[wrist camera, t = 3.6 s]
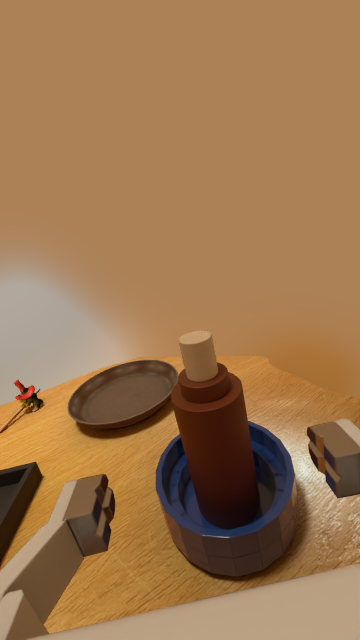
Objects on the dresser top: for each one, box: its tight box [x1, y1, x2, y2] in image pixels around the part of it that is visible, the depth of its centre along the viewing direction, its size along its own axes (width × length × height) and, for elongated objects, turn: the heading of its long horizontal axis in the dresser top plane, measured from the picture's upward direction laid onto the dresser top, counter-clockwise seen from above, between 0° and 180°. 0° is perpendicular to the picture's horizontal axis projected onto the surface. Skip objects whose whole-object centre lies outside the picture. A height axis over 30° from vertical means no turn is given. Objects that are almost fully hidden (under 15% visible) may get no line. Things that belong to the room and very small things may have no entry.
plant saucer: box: [68, 360, 178, 429], centre depth 49 cm, size 21×21×3 cm
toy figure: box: [0, 380, 43, 433], centre depth 52 cm, size 10×4×7 cm
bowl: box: [156, 421, 298, 577], centre depth 26 cm, size 13×13×5 cm
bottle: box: [171, 331, 260, 529], centre depth 24 cm, size 6×6×18 cm
